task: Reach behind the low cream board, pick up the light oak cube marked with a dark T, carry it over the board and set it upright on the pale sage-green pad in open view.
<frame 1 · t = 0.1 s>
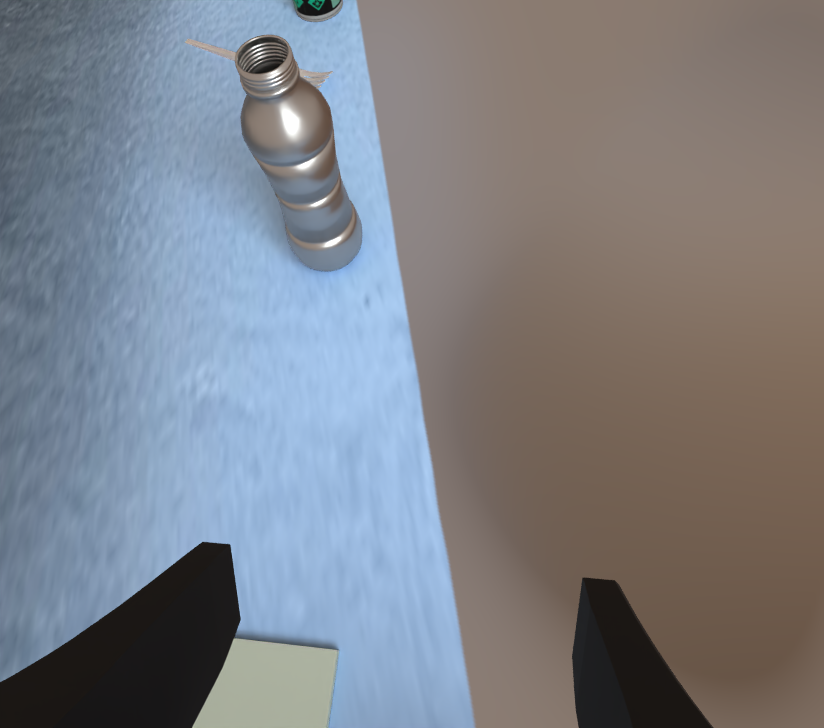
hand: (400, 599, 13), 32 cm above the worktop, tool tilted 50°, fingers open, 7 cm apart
spray can: (319, 7, 72), on the worktop
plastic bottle: (331, 251, 57), on the worktop
fork: (256, 69, 70), on the worktop
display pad: (251, 726, 41), on the worktop
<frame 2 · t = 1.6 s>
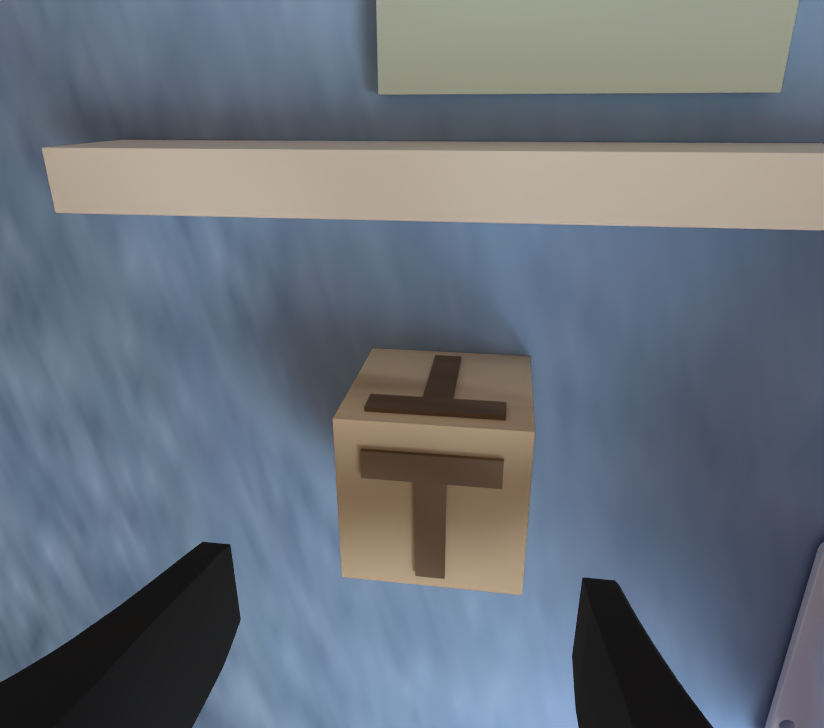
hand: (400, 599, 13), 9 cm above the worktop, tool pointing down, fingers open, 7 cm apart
cream board: (489, 171, 18), on the worktop
lettered cube: (448, 421, 21), on the worktop
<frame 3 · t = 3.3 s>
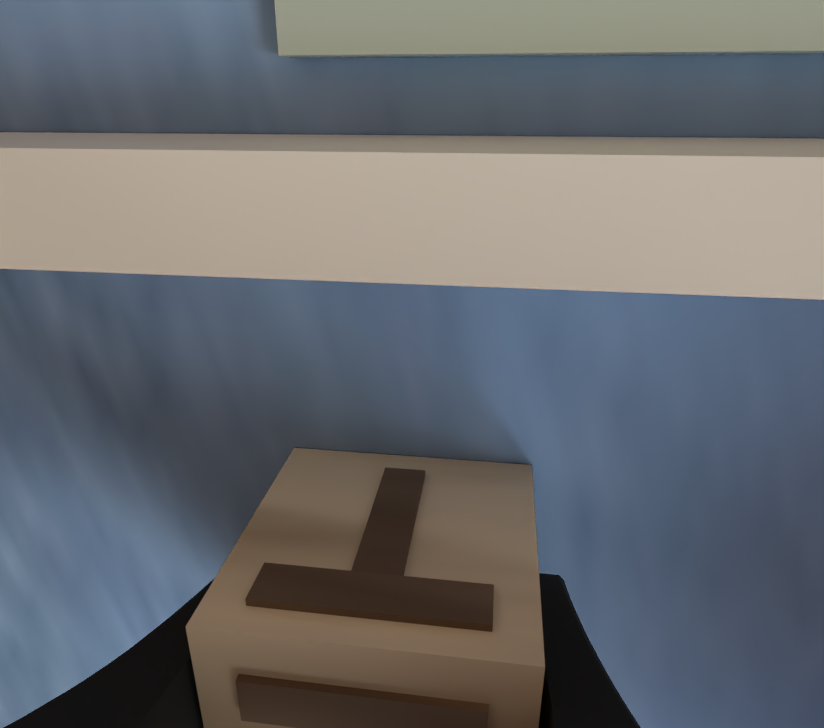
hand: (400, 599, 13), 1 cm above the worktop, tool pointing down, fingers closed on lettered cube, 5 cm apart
cream board: (467, 185, 11), on the worktop
lettered cube: (410, 552, 14), on the worktop, touching gripper
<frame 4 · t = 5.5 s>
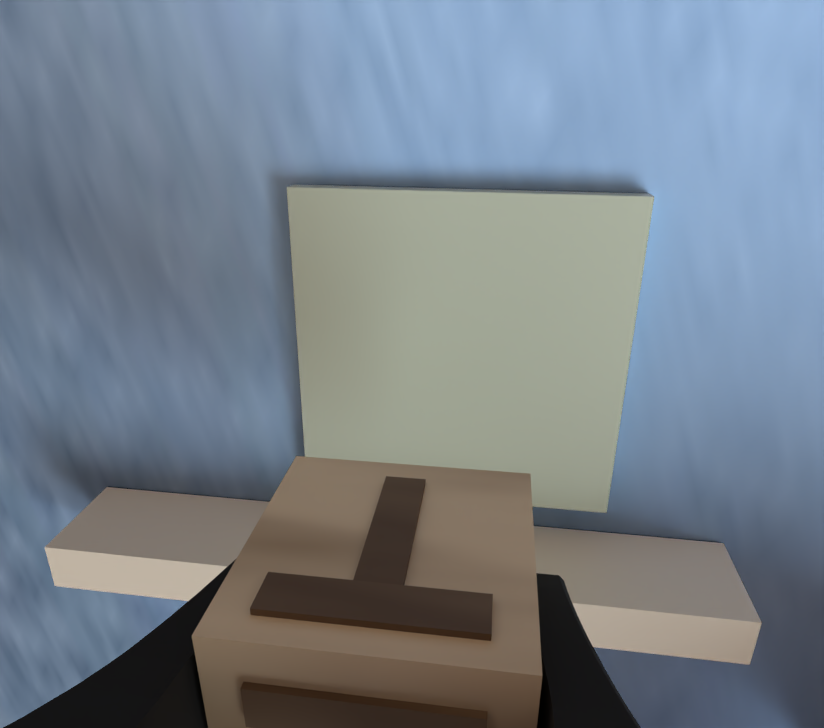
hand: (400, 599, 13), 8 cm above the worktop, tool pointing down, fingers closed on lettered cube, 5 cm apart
cream board: (396, 531, 23), on the worktop
lettered cube: (410, 559, 14), point 7 cm above the worktop, touching gripper
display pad: (458, 353, 20), on the worktop
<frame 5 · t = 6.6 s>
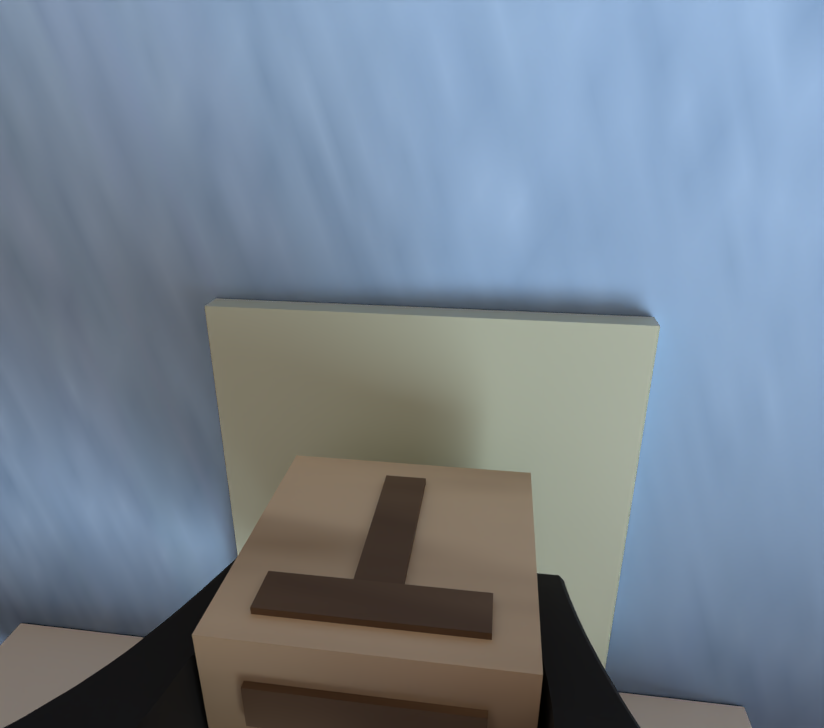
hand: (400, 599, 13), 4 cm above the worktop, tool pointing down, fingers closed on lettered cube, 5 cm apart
cream board: (356, 681, 19), on the worktop
lettered cube: (410, 558, 14), point 2 cm above the worktop, touching gripper
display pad: (423, 492, 16), on the worktop
when the fingers open (4 cm above the worktop, at t = 7.5 s): lettered cube drops 2 cm, resting on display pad.
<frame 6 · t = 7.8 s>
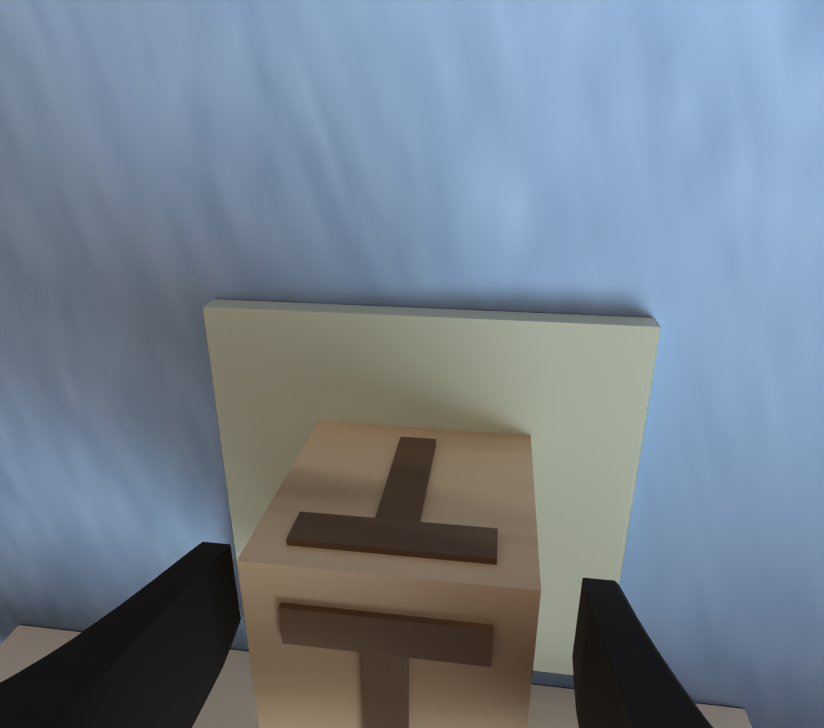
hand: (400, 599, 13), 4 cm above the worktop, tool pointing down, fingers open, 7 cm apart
cream board: (356, 683, 19), on the worktop
lettered cube: (421, 516, 16), point 1 cm above the worktop, touching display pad
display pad: (422, 494, 16), on the worktop
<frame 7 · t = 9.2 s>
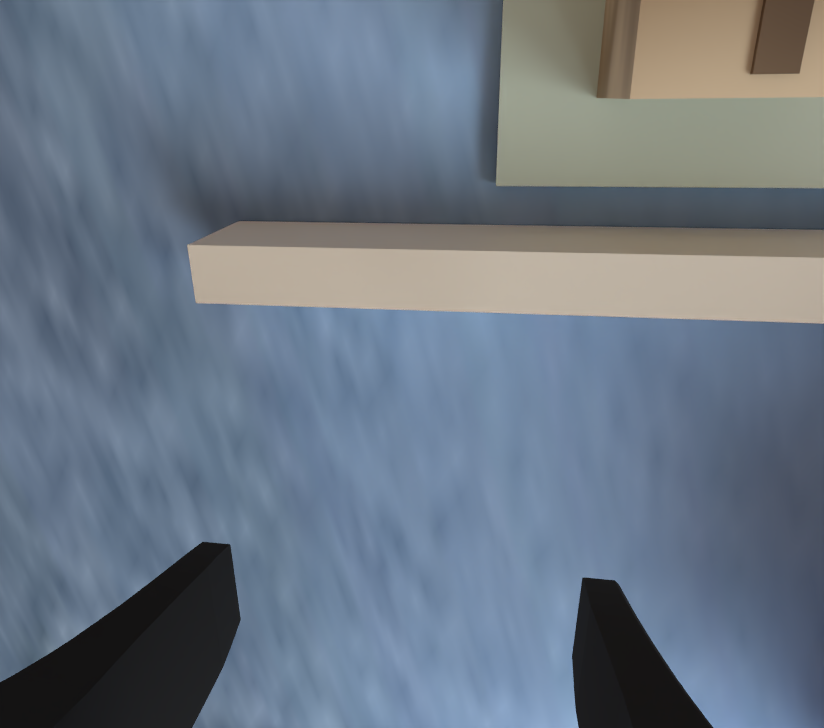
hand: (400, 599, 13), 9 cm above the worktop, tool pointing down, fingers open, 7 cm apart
cream board: (595, 253, 19), on the worktop
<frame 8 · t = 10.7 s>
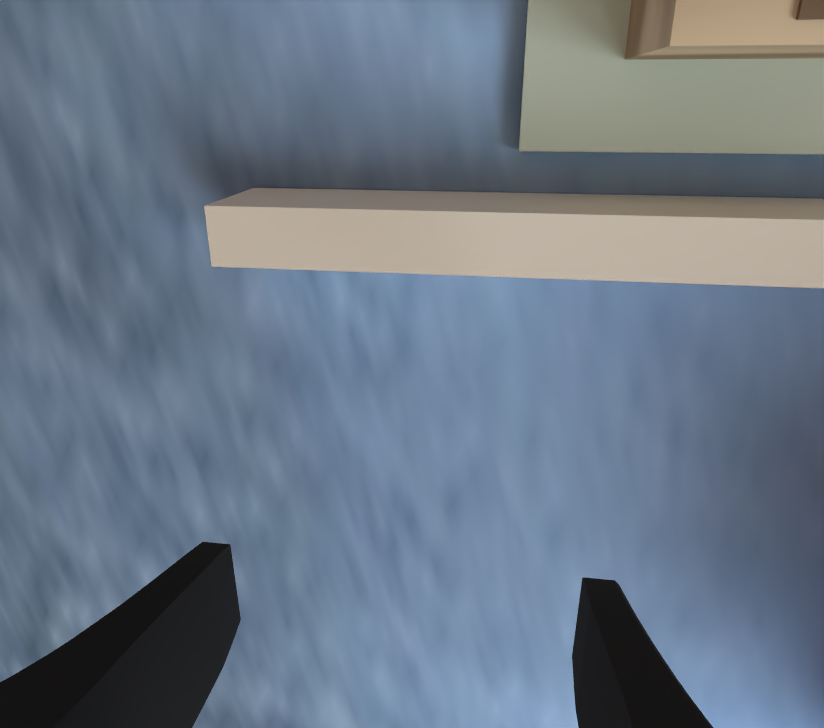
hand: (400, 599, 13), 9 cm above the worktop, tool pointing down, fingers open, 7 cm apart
cream board: (618, 222, 18), on the worktop
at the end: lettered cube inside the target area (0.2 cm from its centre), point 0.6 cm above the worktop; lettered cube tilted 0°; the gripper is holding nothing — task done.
